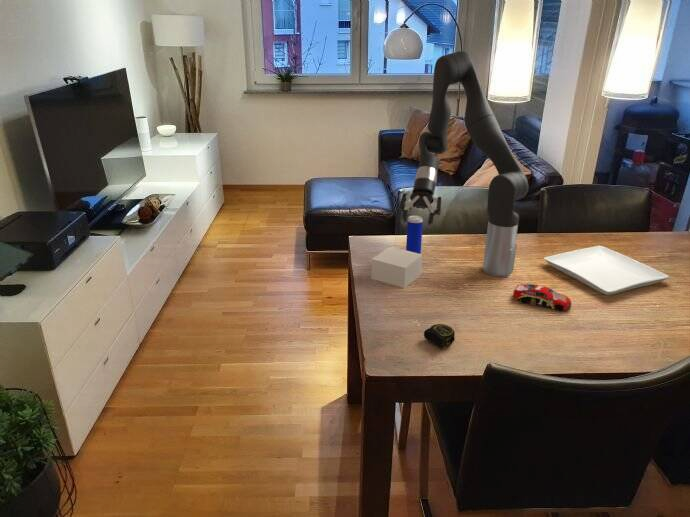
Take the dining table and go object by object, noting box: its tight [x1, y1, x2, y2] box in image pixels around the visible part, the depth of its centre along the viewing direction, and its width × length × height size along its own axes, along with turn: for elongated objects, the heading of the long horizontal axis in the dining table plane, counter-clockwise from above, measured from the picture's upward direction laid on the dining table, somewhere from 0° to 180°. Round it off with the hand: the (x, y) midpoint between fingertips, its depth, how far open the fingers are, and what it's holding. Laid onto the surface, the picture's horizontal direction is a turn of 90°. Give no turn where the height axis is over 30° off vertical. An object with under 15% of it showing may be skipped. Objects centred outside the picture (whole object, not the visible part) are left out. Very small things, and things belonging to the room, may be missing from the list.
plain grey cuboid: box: [370, 246, 424, 289], centre depth 170 cm, size 12×12×7 cm
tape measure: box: [423, 323, 456, 350], centre depth 136 cm, size 7×7×4 cm
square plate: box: [543, 245, 670, 296], centre depth 172 cm, size 27×27×4 cm
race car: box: [512, 283, 572, 312], centre depth 155 cm, size 16×7×5 cm, turn 61°
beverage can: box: [405, 214, 424, 254], centre depth 181 cm, size 5×5×15 cm
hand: (417, 222), depth 183 cm, fingers open, 8 cm apart
